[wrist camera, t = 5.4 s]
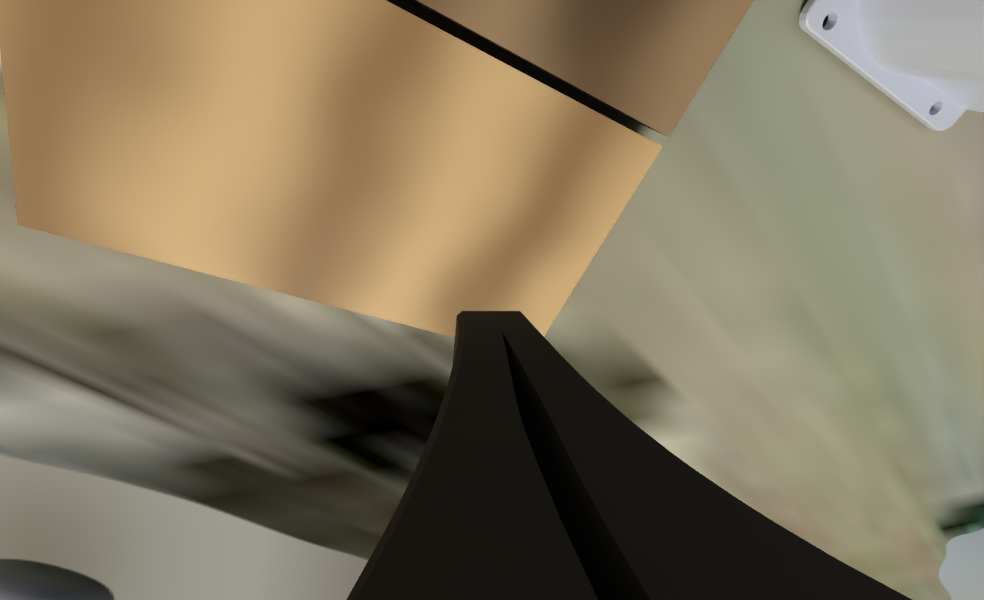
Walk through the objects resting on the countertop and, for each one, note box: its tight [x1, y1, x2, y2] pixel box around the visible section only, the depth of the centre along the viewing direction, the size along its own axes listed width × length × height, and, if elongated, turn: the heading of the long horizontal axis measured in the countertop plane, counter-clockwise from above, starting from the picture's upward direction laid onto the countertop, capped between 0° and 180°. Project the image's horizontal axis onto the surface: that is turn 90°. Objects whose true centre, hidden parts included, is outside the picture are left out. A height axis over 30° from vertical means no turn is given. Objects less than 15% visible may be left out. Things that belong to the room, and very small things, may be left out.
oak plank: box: [0, 0, 662, 337], centre depth 15 cm, size 18×10×2 cm, turn 65°
